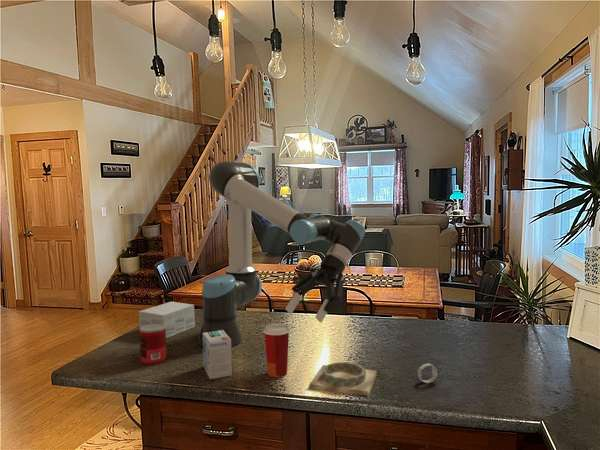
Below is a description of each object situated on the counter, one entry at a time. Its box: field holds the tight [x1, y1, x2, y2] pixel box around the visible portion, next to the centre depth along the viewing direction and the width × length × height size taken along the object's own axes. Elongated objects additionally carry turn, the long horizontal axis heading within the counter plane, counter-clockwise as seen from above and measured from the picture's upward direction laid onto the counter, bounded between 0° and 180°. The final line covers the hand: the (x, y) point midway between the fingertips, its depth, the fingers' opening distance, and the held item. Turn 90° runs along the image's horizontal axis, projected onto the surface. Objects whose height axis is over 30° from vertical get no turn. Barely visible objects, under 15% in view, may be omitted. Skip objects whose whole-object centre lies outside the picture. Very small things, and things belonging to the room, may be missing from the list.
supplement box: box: [138, 301, 196, 339], centre depth 173 cm, size 17×13×9 cm
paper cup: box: [262, 323, 291, 378], centre depth 129 cm, size 8×8×14 cm
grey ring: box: [417, 363, 438, 384], centre depth 122 cm, size 3×5×5 cm, turn 102°
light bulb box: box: [202, 330, 233, 380], centre depth 132 cm, size 11×7×11 cm, turn 23°
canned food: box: [139, 324, 167, 366], centre depth 141 cm, size 8×8×11 cm
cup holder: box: [308, 361, 378, 397], centre depth 123 cm, size 16×14×3 cm
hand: (302, 315), depth 135 cm, fingers open, 13 cm apart
